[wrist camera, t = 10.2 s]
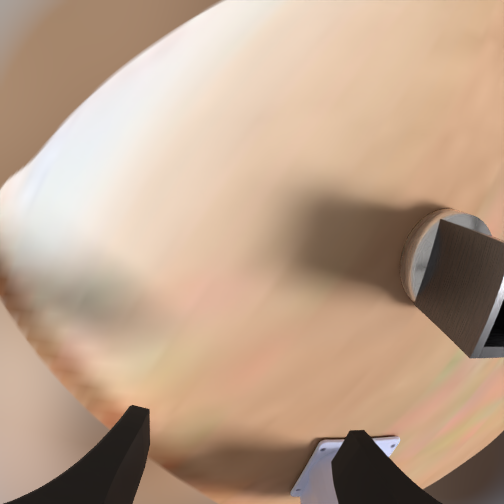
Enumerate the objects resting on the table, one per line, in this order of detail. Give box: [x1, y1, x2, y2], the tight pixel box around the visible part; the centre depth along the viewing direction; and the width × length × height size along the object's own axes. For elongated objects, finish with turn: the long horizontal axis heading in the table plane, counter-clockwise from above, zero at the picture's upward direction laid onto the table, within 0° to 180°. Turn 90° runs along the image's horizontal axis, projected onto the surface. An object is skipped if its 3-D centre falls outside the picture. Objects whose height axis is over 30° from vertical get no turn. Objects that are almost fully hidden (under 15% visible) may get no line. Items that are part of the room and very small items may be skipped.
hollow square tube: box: [414, 219, 504, 358], centre depth 13 cm, size 5×5×6 cm
